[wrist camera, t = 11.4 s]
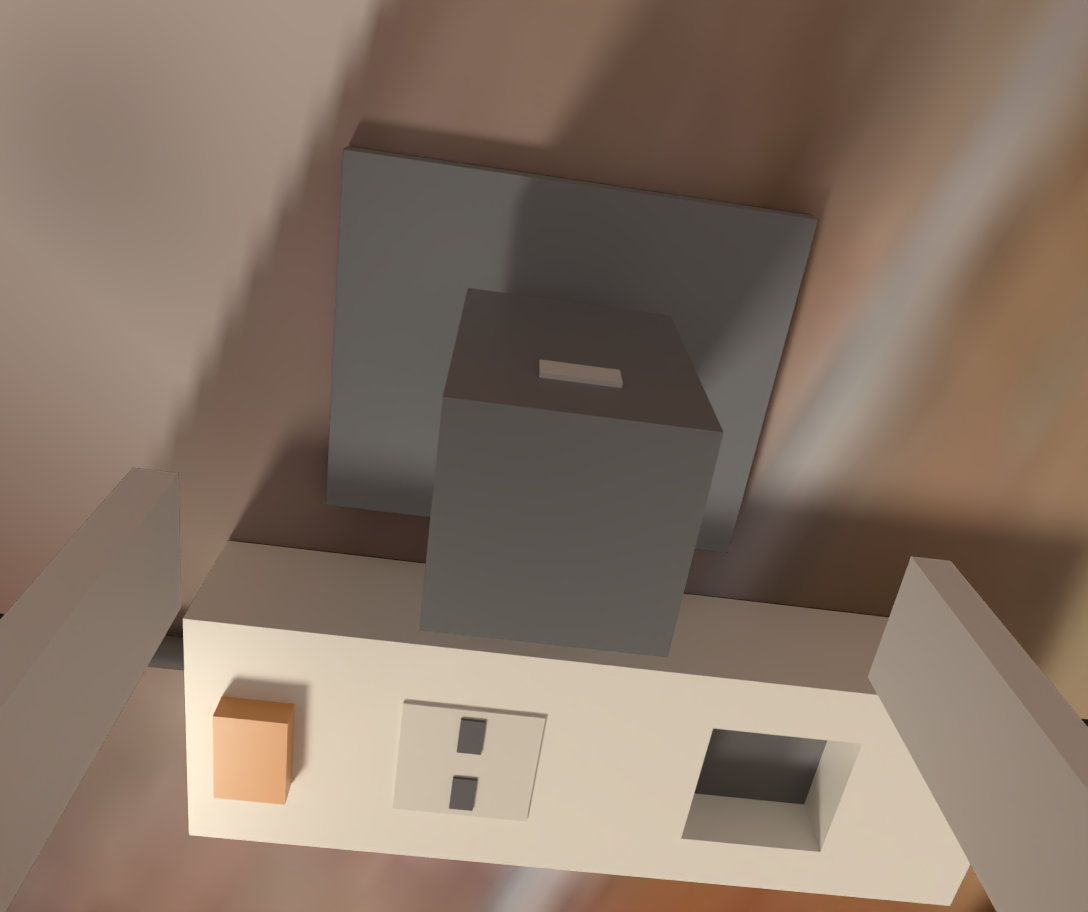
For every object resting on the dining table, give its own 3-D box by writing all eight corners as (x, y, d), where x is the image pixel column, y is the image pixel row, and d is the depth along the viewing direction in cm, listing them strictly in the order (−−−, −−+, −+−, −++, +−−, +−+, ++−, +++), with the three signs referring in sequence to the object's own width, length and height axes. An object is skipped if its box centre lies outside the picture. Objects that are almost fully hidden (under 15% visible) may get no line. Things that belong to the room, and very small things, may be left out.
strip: (31, 720, 31) (-50, 835, 27) (6, 514, 28) (-91, 608, 23) (904, 808, 33) (960, 928, 29) (981, 628, 30) (1058, 733, 25)
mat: (329, 495, 27) (325, 504, 27) (347, 146, 23) (343, 149, 23) (724, 542, 28) (727, 553, 28) (811, 215, 24) (818, 219, 23)
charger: (453, 442, 26) (418, 630, 18) (472, 265, 24) (443, 390, 16) (627, 464, 26) (667, 657, 19) (662, 291, 24) (724, 426, 16)
